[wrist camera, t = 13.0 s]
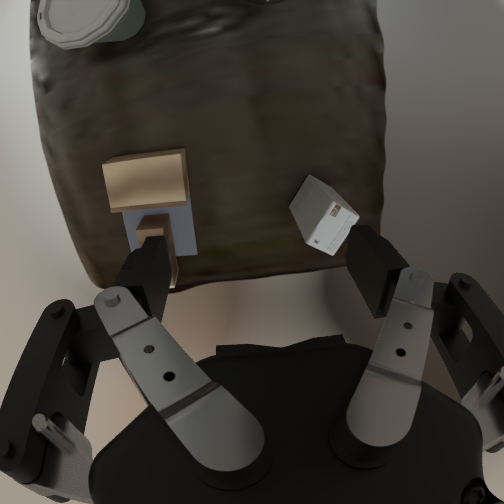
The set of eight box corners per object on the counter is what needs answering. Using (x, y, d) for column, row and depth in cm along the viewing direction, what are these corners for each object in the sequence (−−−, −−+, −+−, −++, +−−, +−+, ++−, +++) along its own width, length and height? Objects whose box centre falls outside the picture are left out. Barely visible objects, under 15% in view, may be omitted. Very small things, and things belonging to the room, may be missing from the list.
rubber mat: (120, 201, 42) (119, 202, 42) (190, 194, 42) (189, 195, 42) (133, 257, 47) (133, 258, 47) (197, 253, 47) (197, 254, 47)
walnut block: (135, 230, 39) (149, 288, 44) (162, 228, 39) (174, 287, 44) (144, 215, 43) (156, 270, 48) (169, 213, 43) (178, 269, 48)
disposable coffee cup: (159, -18, 25) (126, -60, 12) (164, 46, 31) (129, 25, 18) (89, 4, 25) (33, -19, 12) (93, 66, 31) (34, 64, 18)
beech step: (112, 157, 38) (101, 165, 35) (185, 147, 39) (180, 154, 35) (120, 201, 42) (111, 212, 38) (190, 194, 42) (186, 205, 39)
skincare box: (310, 217, 46) (334, 260, 35) (286, 205, 44) (304, 246, 34) (332, 184, 43) (363, 218, 32) (307, 170, 42) (333, 201, 31)
